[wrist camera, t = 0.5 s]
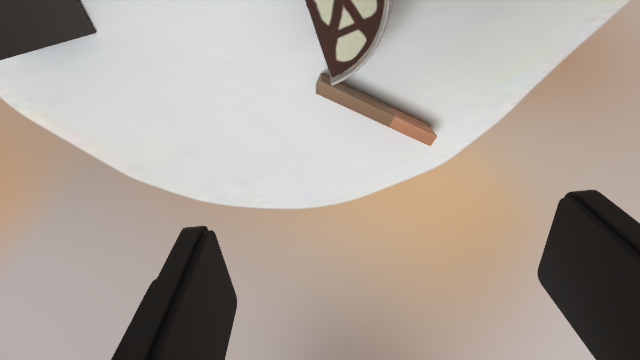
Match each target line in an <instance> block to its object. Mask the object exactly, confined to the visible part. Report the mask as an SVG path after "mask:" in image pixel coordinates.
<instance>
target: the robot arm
mask: <svg viewBox="0 0 640 360" xmlns="http://www.w3.org/2000/svg"><path fill="white" fill-rule="evenodd" d="M538 278H539V281H540V282H541V284H542V286H543V287H544V289H545V290H546V291H547V293H548V294H549V295H550V297H551V298H552V300H553V301H554V302H555V304H556V305H557V306H558V308H559V309H560V311H561V312H562V313H563V315H564V316H565V317H566V319H567V320H568V322H569V323H570V324H571V326H572V327H573V329H574V330H575V331H576V333H577V334H578V335H579V337H580V338H581V340H582V341H583V342H584V344H585V345H586V346H587V348H588V349H589V351H590V352H591V354H592V355H593V356H594V358H595V359H596V360H640V223H638V222H637V221H636V220H634V219H633V218H632V217H630V216H629V215H628V214H627V213H625V212H624V211H623V210H622V209H620V208H619V207H618V206H616V205H615V204H614V203H613V202H611V201H610V200H608V199H607V198H606V197H605V196H604V195H602V194H601V193H600V192H598V191H596V190H586V191H575V192H569V193H567V194H566V195H565V197H564V198H562V199H561V200H560V201H559V204H558V207H557V210H556V213H555V216H554V220H553V223H552V226H551V229H550V232H549V236H548V239H547V242H546V245H545V248H544V252H543V255H542V259H541V261H540V264H539V268H538ZM236 308H237V298H236V294H235V291H234V288H233V285H232V282H231V279H230V276H229V273H228V270H227V267H226V264H225V261H224V258H223V255H222V252H221V250H220V247H219V244H218V241H217V238H216V235H215V233H214V231H212V230H211V231H209V230H208V229H207V227H206V226H198V227H187V228H183V230H182V231H181V233H180V235H179V237H178V238H177V240H176V242H175V244H174V246H173V248H172V250H171V252H170V254H169V256H168V258H167V260H166V262H165V264H164V266H163V268H162V270H161V272H160V274H159V276H158V278H157V279H155V280H154V281H153V282H152V283H151V285H150V286H149V289H148V290H147V292H146V294H145V296H144V298H143V300H142V302H141V304H140V305H139V307H138V309H137V311H136V313H135V315H134V317H133V319H132V321H131V323H130V325H129V327H128V329H127V331H126V333H125V334H124V336H123V338H122V340H121V342H120V344H119V346H118V348H117V350H116V352H115V353H114V355H113V357H112V359H111V360H225V356H226V351H227V347H228V343H229V339H230V334H231V330H232V326H233V321H234V317H235V312H236Z"/></svg>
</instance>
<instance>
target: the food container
mask: <svg viewBox="0 0 640 360" xmlns="http://www.w3.org/2000/svg"><path fill="white" fill-rule="evenodd" d="M305 1H306V6H307V7H308V9H309V12H310V15H311V18H312V21H313V24H314V27H315V30H316V33H317V36H318V39H319V42H320V45H321V48H322V51H323V54H324V57H325V60H326V63H327V66H328V70H329V75H330V81H331V85H332V86H333V85H335V84H337V83H339V82H341V81H343V80H345V79H347V78H348V77H350V76H351V75H353V74H354V73H355V72H356V71H358V70H359V69H360V68H361V67H362V66H363V65H364V64H365V63H366V62H367V61H368V59H369V58H370V57H371V56H372V55H373V53H374V52H375V50H376V48H377V47H378V45H379V44H380V42H381V39H382V37H383V35H384V33H385V30H386V27H387V24H388V20H389V17H390V13H391V6H392V0H305Z"/></svg>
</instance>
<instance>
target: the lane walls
mask: <svg viewBox="0 0 640 360" xmlns="http://www.w3.org/2000/svg"><path fill="white" fill-rule="evenodd" d="M316 94H319V95H321V96H323V97H325V98H327V99H329V100H332V101H334V102H336V103H338V104H340V105H342V106H344V107H347V108H349V109H351V110H353V111H355V112H357V113H360V114H362V115H364V116H366V117H368V118H370V119H373V120H375V121H377V122H379V123H381V124H383V125H386V126H388V127H390V128H392V129H394V130H396V131H398V132H401V133H403V134H405V135H407V136H409V137H411V138H414V139H416V140H418V141H420V142H422V143H424V144H427V145H429V146H431V144H432V143H433V142H434V140H435V139H436V137H437V136H436V134H435V133H434V131H433V130H432V129H431V127H430V126H429V125H428V124H426V123H424V122H422V121H420V120H418V119H415V118H413V117H411V116H409V115H407V114H405V113H403V112H401V111H399V110H397V109H395V108H392V107H390V106H388V105H386V104H384V103H382V102H380V101H378V100H376V99H374V98H372V97H370V96H367V95H365V94H363V93H361V92H359V91H357V90H355V89H353V88H351V87H349V86H347V85H345V84H342V83H340V82H339V83H337V84H335V85H333V86H332V85H331V81H330V77H328V76H326V75H324V74H322V73H321V74H320V77H319V79H318V81H317V83H316Z"/></svg>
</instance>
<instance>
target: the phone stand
mask: <svg viewBox="0 0 640 360" xmlns="http://www.w3.org/2000/svg"><path fill="white" fill-rule="evenodd" d="M94 33H95V31H94V29H93V27H92V25H91V24H90V22H89V20H88V18H87V16H86V14H85V12H84V10H83V8H82V6H81V5H80V3H79V1H78V0H0V60H2V59H6V58H9V57H13V56H16V55H20V54H23V53H27V52H30V51H34V50H37V49H41V48H44V47H48V46H52V45H55V44H59V43H62V42H66V41H69V40H73V39H76V38H80V37H83V36H87V35H90V34H94Z"/></svg>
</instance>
